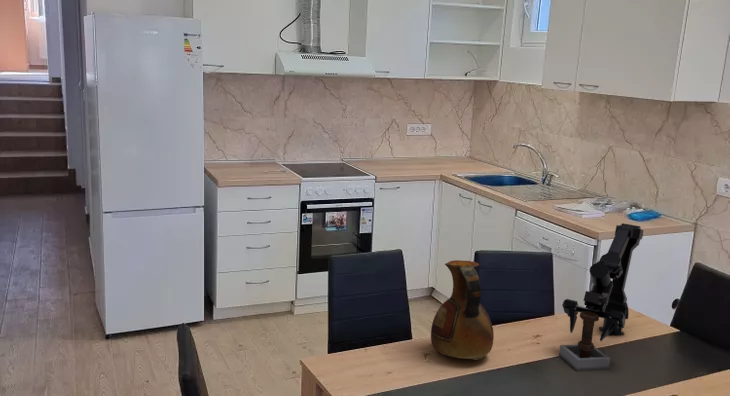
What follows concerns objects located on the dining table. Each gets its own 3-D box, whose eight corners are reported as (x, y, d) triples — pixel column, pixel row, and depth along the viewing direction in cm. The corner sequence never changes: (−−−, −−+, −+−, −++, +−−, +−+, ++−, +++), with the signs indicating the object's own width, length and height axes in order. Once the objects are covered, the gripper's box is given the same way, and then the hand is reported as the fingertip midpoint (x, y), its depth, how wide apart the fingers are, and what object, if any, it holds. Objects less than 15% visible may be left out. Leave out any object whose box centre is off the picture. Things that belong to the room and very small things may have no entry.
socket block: (558, 355, 210) (560, 345, 210) (589, 353, 213) (590, 343, 212) (577, 370, 200) (578, 360, 199) (608, 369, 202) (610, 358, 202)
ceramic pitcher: (473, 338, 220) (481, 253, 214) (503, 364, 201) (513, 271, 195) (419, 343, 214) (426, 255, 208) (446, 370, 195) (454, 274, 189)
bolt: (595, 358, 207) (601, 313, 205) (591, 364, 203) (597, 318, 200) (577, 354, 210) (582, 309, 208) (573, 359, 206) (578, 314, 203)
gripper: (567, 274, 210) (552, 316, 203) (628, 288, 199) (613, 332, 193) (572, 292, 218) (557, 332, 211) (631, 305, 207) (617, 349, 201)
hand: (585, 336), depth 204 cm, fingers open, 9 cm apart
